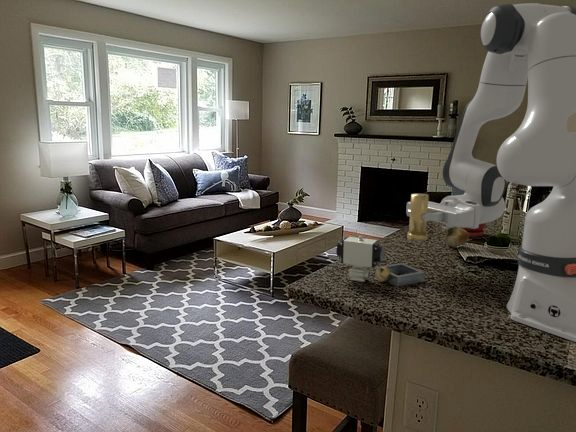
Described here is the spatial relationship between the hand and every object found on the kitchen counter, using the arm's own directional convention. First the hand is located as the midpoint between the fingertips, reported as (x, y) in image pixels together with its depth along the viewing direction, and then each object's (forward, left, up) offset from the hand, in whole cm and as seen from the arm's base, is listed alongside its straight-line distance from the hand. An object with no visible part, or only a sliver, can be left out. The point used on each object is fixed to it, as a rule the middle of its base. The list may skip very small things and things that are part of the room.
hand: (415, 215), depth 118 cm
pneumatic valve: (+3, +15, -17) cm, 23 cm away
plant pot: (+27, -51, -17) cm, 61 cm away
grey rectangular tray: (-1, +5, -17) cm, 17 cm away
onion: (+16, -33, -17) cm, 41 cm away
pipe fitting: (0, -1, -6) cm, 7 cm away
